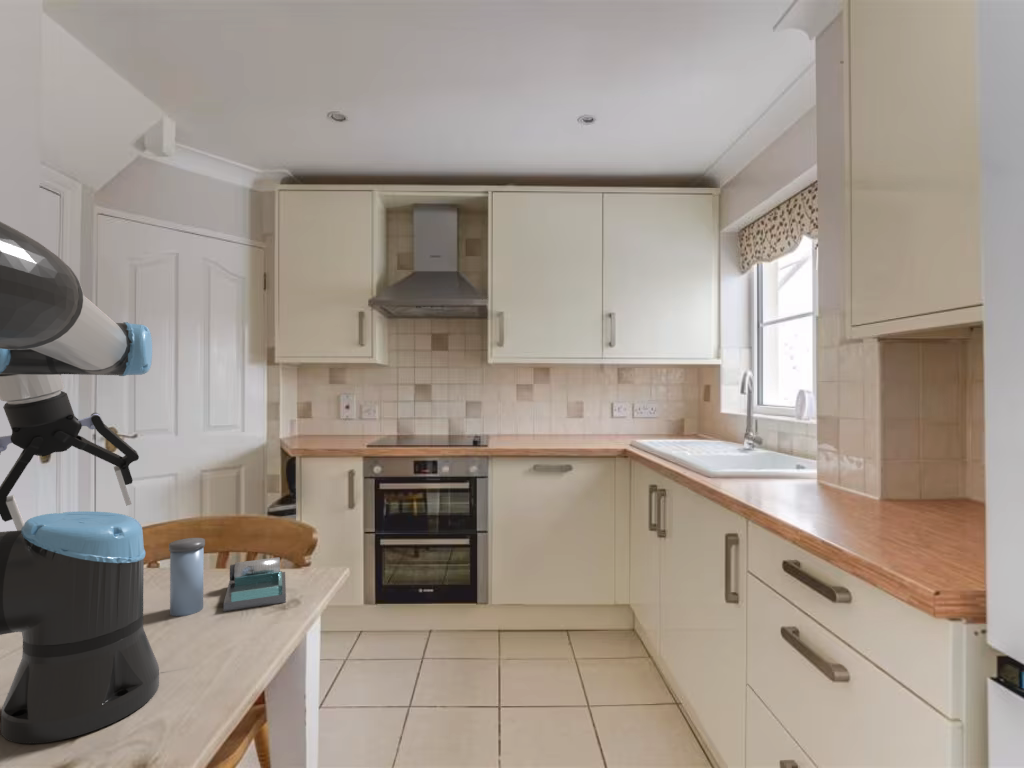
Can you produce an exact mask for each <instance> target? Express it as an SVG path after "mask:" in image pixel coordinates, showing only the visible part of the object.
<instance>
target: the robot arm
mask: <svg viewBox="0 0 1024 768" xmlns="http://www.w3.org/2000/svg"><path fill="white" fill-rule="evenodd" d="M151 334H152V333H151V330H150V329H149V328H148V326H147V325H144V324H138V323H129V322H127V321H126V322H125V321H123V322H115V321H114V320H113V319H112V318H110V316H109V315H107V314H106V313H105V312H104V311H103V310H101V309H100V308H99V307H98V306H97V305H96V304H95V303H94V302H92V301H91V300H90V299H89V298H87V297H86V296H85V294H84V291H83V288H82V284H81V282H80V280H79V278H78V276H77V275H76V274H75V272H74V271H73V270H72V267H70V266H69V265H68V264H67V263H65V261H63V260H62V259H61V258H60V257H59V255H57V254H55V253H54V252H53V251H51V250H50V249H48V248H47V247H46V246H44V245H43V244H42V243H40V242H39V241H37V240H35V239H34V238H31V236H28V235H26V234H24V232H21V231H20V230H18V229H16V228H13V227H12V226H10V225H8V224H6V223H5V222H2V221H0V400H1V401H2V402H6V403H4V405H3V410H4V413H5V416H6V418H7V420H8V421H7V422H8V423H9V426H10V429H11V434H10V435H3V436H0V454H1V453H2V452H5V451H6V450H7V448H8V445H10V444H13V445H14V446H16V447H19V448H20V449H22V451H21V452H20V455H19V457H17V459H16V461H15V463H14V464H13V466H12V467H11V469H10V470H9V472H8V474H6V477H5V479H3V481H2V483H1V485H0V518H1V520H2V521H4V523H5V522H9V521H13V524H14V526H15V528H16V530H8V531H7V530H6V531H0V636H2V635H6V634H13V633H14V634H15V633H21V634H22V655H21V656H22V657H21V659H20V663H19V665H18V667H17V670H16V672H15V676H14V678H13V681H12V683H11V684H10V688H9V690H8V693H7V695H6V698H5V700H4V702H3V704H2V708H1V713H0V716H1V717H0V731H1V736H2V737H3V738H5V740H8V741H10V742H14V743H18V744H43V743H45V744H46V743H51V742H57V741H62V740H67V739H70V738H74V737H77V736H82V735H85V734H88V733H90V732H94V731H96V730H97V731H98V730H99V729H101V728H104V727H106V726H109V725H111V724H113V723H115V722H118V721H120V720H121V719H123V718H126V717H127V716H129V715H131V714H132V713H134V712H136V711H137V710H139V708H141V707H143V706H144V705H145V704H147V703H148V702H149V701H150V700H151V699H152V698H153V697H154V696H155V695H156V693H157V691H158V690H159V686H160V667H159V662H158V660H157V658H156V656H155V652H154V650H153V648H152V646H151V644H150V642H149V639H148V637H147V634H146V632H145V628H144V574H145V573H144V572H145V571H144V569H145V568H144V566H145V564H144V560H145V557H146V550H145V547H144V546H145V545H144V533H143V532H144V531H143V527H142V525H141V523H140V521H138V520H137V519H135V518H134V517H131V516H128V515H126V514H122V513H116V512H108V511H107V512H106V511H65V512H61V513H56V512H53V513H46V514H41V515H36V516H33V517H31V518H29V519H27V520H26V521H25V520H24V518H23V516H22V513H21V510H20V509H19V508H20V507H19V506H18V502H17V500H16V498H15V495H14V494H12V495H10V493H11V491H12V490H13V488H14V486H15V485H16V483H17V482H18V480H19V479H20V477H21V476H22V473H24V471H25V470H26V469H27V466H28V465H29V464H30V463H31V461H32V459H33V458H34V456H37V457H38V456H39V457H42V458H43V457H48V456H50V455H52V454H54V453H62V452H66V451H68V450H69V449H70V448H72V447H73V448H75V449H78V450H81V451H82V452H83V451H84V452H86V453H87V454H90V455H92V456H94V457H97V458H99V459H101V460H103V461H105V462H107V463H110V464H111V465H114V466H113V469H114V473H115V475H116V479H117V482H118V486H119V488H120V490H121V494H122V497H123V499H124V503H125V505H126V506H131V505H132V501H131V499H130V498H131V497H130V494H129V492H128V489H127V485H131V484H133V477H132V474H131V470H130V467H129V466H130V464H132V463H133V462H136V461H138V460H139V458H140V456H139V454H138V452H137V450H135V449H134V448H133V447H132V446H130V445H129V444H128V443H127V442H126V441H125V440H124V439H122V438H121V437H120V436H119V435H118V434H116V433H115V432H114V431H113V430H112V429H111V428H109V426H107V425H106V424H105V423H104V421H103V419H102V417H101V414H100V413H98V412H92V413H91V414H90V415H89V416H85V417H83V418H80V419H79V418H77V417H76V415H75V413H74V411H73V408H72V405H71V402H70V399H69V396H68V393H67V392H65V391H63V389H64V388H65V385H64V381H63V379H62V376H61V375H82V376H83V375H86V376H87V375H88V376H89V375H90V376H119V377H125V376H139V375H140V376H141V375H145V374H147V373H148V372H149V371H150V369H151V366H152V361H153V339H152V338H153V337H152V335H151ZM83 427H87V428H88V429H90V430H96V431H97V433H98V434H99V435H101V436H102V437H103V438H104V439H105V440H107V442H108V443H110V444H112V445H113V446H114V447H115V448H116V449H117V450H119V451H120V453H122V454H123V455H124V456H121V455H119V454H117V453H115V452H112V451H111V450H110V449H106V448H105V447H103V446H101V445H98V444H96V443H95V442H92V441H90V440H88V439H87V438H85V437H83V436H82V435H79V434H80V432H81V429H82V428H83Z"/></svg>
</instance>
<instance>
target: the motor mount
mask: <svg viewBox="0 0 1024 768" xmlns="http://www.w3.org/2000/svg"><path fill="white" fill-rule="evenodd" d="M280 561H281V558H280V557H272V558H270V557H269V558H263V559H256V560H255V559H254V560H247V561H238V562H235V563H234V564H230V566H229V581H228V585H227V590H226V592H225V597H224V601H223V612H233V611H239V610H244V609H250V608H257V607H258V608H259V607H264V606H270V605H278V604H283V603H286V602H287V601H286V597H287V595H286V593H287V592H286V571H281V562H280Z"/></svg>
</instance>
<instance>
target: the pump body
mask: <svg viewBox="0 0 1024 768" xmlns="http://www.w3.org/2000/svg"><path fill="white" fill-rule="evenodd" d="M205 546H206V539H205V538H202V537H188V538H183V539H182V538H180V539H178V540H174V541H171V542H170V543H169V544H168V551H169V552H170V553H169V555H170V556H169V557H170V559H169V562H170V563H169V565H170V566H169V575H170V576H169V603H170V604H169V615H170V616H173V617H185V616H191V615H193V614H194V615H195V614H196V613H198V612H200V611H203V609H204V565H205V563H204V560H205V559H204V551H205V550H204V547H205Z"/></svg>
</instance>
